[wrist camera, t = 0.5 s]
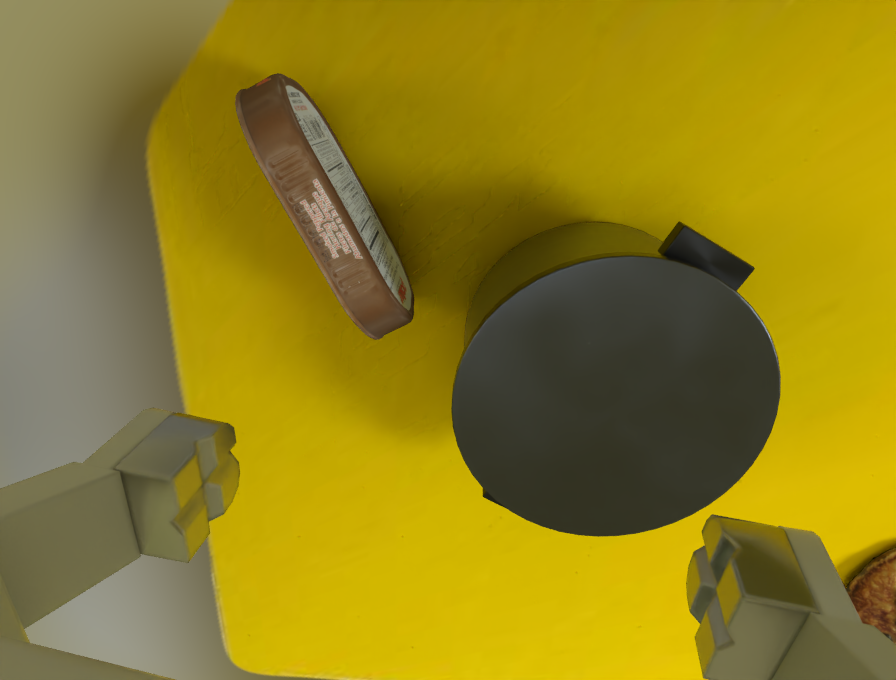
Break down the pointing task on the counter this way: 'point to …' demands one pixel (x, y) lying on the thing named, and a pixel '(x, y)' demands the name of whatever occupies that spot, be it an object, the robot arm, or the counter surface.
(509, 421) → the stockpot
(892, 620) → the bread roll
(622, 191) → the counter surface
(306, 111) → the tin
